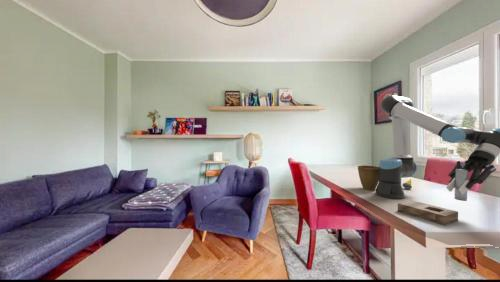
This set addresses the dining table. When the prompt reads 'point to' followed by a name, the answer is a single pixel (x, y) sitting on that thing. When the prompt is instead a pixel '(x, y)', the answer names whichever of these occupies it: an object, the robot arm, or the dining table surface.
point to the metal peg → (460, 184)
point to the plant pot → (369, 176)
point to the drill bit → (407, 185)
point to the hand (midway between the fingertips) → (454, 190)
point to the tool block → (428, 212)
